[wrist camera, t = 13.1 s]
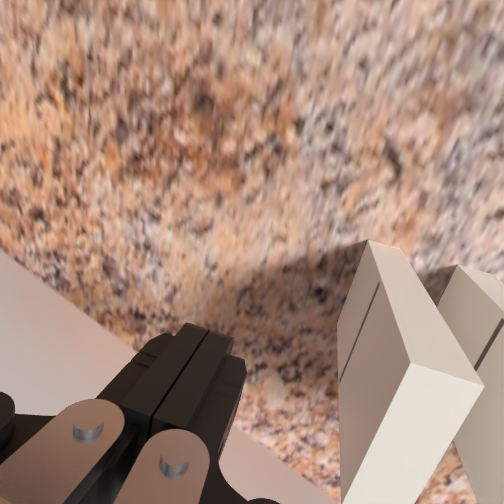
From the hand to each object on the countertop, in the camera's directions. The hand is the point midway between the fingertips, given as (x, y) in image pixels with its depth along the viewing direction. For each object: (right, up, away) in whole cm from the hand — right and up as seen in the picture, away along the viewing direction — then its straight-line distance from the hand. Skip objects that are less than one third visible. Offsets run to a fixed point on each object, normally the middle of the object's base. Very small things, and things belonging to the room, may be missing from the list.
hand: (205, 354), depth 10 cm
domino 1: (+7, +1, +7) cm, 10 cm away
